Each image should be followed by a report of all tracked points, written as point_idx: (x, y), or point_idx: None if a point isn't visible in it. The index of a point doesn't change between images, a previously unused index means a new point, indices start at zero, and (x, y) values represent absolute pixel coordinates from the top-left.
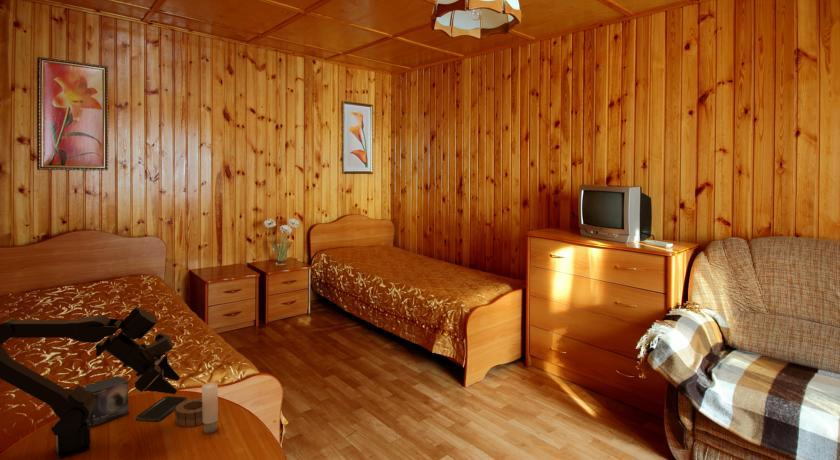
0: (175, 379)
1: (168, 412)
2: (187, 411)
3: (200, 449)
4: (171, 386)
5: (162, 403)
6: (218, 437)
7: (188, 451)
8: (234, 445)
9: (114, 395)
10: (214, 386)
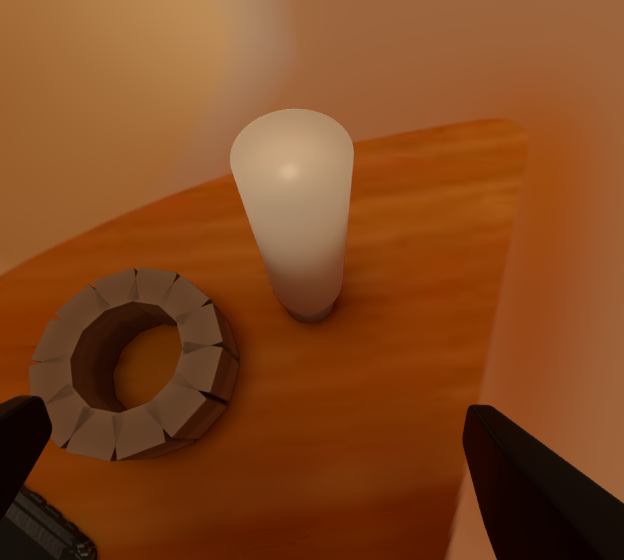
0: (29, 453)
1: (29, 505)
2: (188, 385)
3: (466, 334)
4: (594, 486)
5: None
6: (381, 270)
7: (473, 382)
8: (461, 220)
9: None
10: (321, 125)
